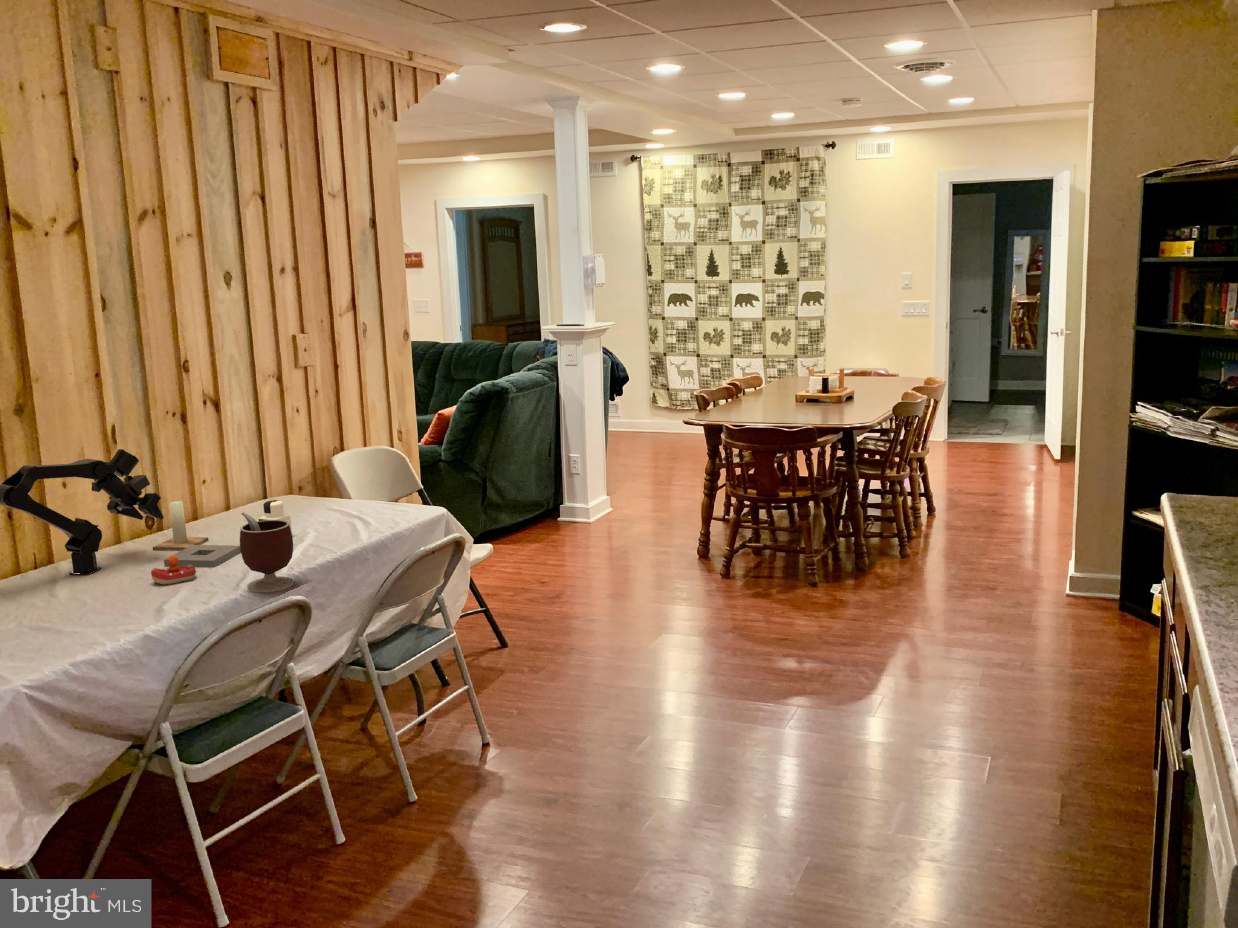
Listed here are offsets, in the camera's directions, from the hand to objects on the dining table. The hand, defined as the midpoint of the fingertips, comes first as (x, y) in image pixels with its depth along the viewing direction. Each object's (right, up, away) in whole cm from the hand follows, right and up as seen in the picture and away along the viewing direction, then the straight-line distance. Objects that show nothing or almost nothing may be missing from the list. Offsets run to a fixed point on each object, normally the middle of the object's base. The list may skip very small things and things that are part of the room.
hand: (152, 518), depth 332 cm
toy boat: (+18, -16, -28) cm, 37 cm away
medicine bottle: (+34, -7, +15) cm, 38 cm away
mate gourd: (+47, -17, -35) cm, 61 cm away
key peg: (+5, -8, +9) cm, 13 cm away
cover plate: (+19, -12, -7) cm, 23 cm away
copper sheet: (+5, -9, +9) cm, 14 cm away
